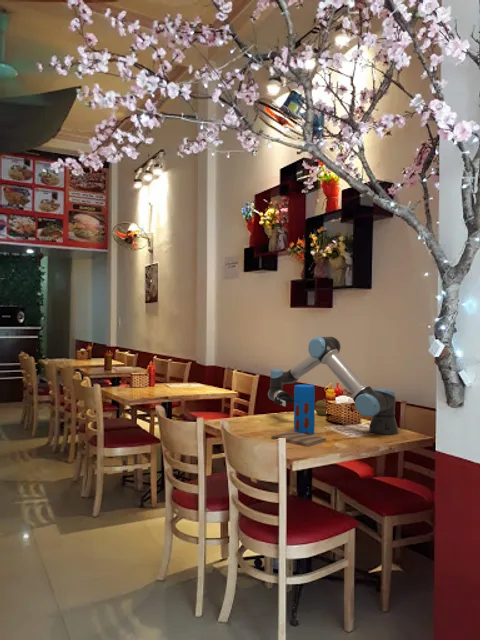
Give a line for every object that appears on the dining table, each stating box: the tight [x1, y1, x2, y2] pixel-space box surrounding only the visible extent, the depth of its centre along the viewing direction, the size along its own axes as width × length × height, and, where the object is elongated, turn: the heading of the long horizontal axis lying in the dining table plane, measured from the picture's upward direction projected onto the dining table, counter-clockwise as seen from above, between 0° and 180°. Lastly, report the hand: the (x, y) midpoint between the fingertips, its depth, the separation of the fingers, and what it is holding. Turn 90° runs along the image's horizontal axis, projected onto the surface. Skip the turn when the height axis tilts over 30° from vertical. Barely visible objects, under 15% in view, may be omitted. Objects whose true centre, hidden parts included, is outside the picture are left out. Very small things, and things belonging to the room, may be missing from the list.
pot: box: [315, 398, 327, 416], centre depth 330 cm, size 12×12×10 cm
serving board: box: [271, 430, 327, 447], centre depth 261 cm, size 22×16×2 cm
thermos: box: [293, 384, 316, 435], centre depth 278 cm, size 11×11×25 cm
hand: (296, 403), depth 288 cm, fingers open, 13 cm apart
